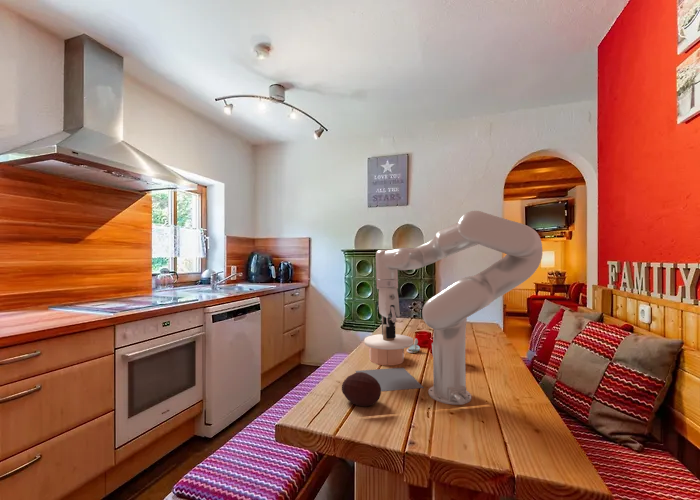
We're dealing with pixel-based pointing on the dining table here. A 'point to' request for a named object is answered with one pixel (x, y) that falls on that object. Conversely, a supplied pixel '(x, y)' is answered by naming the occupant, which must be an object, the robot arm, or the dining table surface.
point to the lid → (388, 341)
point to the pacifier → (414, 347)
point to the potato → (361, 389)
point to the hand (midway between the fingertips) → (388, 336)
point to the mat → (393, 379)
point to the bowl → (386, 356)
